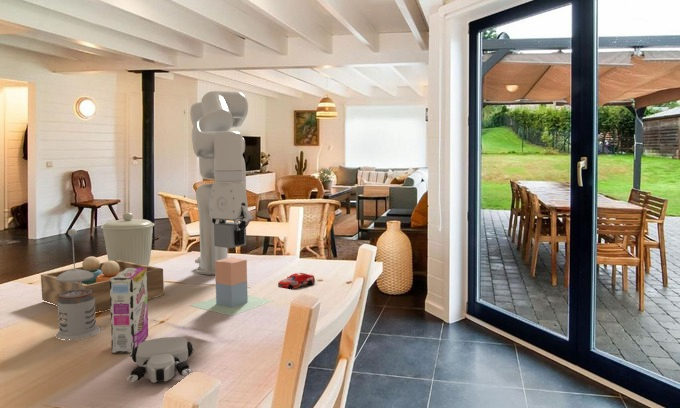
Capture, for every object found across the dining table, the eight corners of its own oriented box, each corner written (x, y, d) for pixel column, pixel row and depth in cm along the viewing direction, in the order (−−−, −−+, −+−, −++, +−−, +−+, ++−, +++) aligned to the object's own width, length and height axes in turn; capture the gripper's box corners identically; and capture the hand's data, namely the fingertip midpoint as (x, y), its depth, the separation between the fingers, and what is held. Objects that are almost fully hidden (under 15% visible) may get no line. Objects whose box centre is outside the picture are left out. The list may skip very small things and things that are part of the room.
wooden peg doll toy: (156, 293, 157) (154, 253, 156) (111, 309, 141) (109, 264, 140) (111, 287, 164) (109, 249, 163) (64, 302, 148) (61, 259, 147)
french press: (52, 342, 116) (45, 233, 114) (57, 327, 127) (51, 226, 124) (100, 336, 120) (94, 230, 118) (101, 321, 131) (96, 224, 128)
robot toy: (195, 388, 96) (194, 352, 110) (194, 365, 95) (194, 332, 110) (124, 396, 93) (133, 358, 107) (123, 373, 92) (132, 337, 106)
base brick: (216, 304, 141) (215, 282, 141) (232, 298, 146) (231, 278, 146) (231, 307, 138) (231, 285, 138) (247, 302, 143) (247, 281, 143)
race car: (284, 292, 159) (284, 279, 158) (274, 288, 163) (274, 276, 163) (317, 284, 168) (317, 272, 167) (307, 281, 172) (307, 269, 171)
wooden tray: (42, 302, 148) (40, 274, 147) (118, 284, 168) (117, 259, 167) (87, 315, 135) (86, 286, 135) (164, 294, 155) (163, 268, 154)
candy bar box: (135, 353, 110) (132, 278, 108) (111, 354, 110) (107, 278, 108) (150, 335, 121) (147, 266, 119) (128, 335, 121) (125, 266, 119)
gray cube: (214, 246, 140) (213, 224, 139) (230, 242, 145) (230, 221, 144) (230, 248, 136) (229, 225, 136) (246, 244, 141) (245, 223, 141)
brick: (215, 282, 141) (214, 261, 140) (231, 278, 146) (231, 257, 145) (231, 285, 138) (230, 263, 137) (247, 281, 143) (246, 259, 142)
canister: (150, 262, 201) (148, 208, 199) (161, 271, 186) (158, 213, 184) (100, 267, 192) (97, 211, 190) (106, 277, 176) (103, 216, 174)
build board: (189, 310, 140) (189, 305, 140) (232, 296, 153) (232, 292, 153) (232, 320, 131) (231, 315, 131) (273, 304, 145) (273, 300, 145)
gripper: (196, 177, 140) (198, 242, 142) (242, 178, 131) (244, 248, 133) (216, 176, 147) (218, 239, 148) (262, 177, 137) (263, 244, 139)
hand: (230, 242), depth 140 cm, fingers closed on gray cube, 6 cm apart
